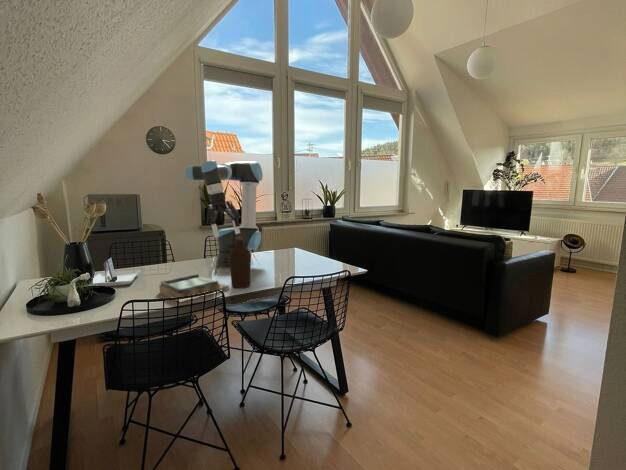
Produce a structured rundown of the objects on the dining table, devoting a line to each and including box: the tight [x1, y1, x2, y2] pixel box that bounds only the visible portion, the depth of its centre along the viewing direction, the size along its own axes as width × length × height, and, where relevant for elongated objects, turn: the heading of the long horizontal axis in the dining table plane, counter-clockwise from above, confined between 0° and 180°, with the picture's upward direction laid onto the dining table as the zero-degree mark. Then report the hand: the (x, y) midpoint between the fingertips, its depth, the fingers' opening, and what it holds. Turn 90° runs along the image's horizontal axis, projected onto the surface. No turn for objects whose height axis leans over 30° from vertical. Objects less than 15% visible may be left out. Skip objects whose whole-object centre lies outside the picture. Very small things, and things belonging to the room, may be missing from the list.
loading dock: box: [158, 273, 230, 298], centre depth 165 cm, size 25×20×6 cm
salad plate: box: [92, 269, 141, 287], centre depth 181 cm, size 21×21×3 cm
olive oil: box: [229, 237, 252, 289], centre depth 172 cm, size 11×11×25 cm
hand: (227, 235), depth 170 cm, fingers open, 13 cm apart
